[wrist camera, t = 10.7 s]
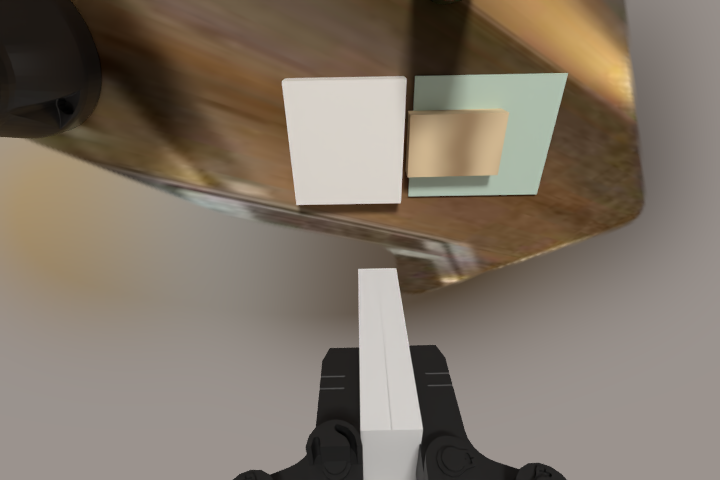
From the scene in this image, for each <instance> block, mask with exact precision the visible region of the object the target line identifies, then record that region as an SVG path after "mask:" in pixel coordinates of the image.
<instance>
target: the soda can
mask: <svg viewBox="0 0 720 480" xmlns="http://www.w3.org/2000/svg"><path fill="white" fill-rule="evenodd" d="M431 1H432V2H435V3H438V4H450V3H454V2H458V1H462V0H431Z"/></svg>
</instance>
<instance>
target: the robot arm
mask: <svg viewBox="0 0 720 480" xmlns="http://www.w3.org/2000/svg"><path fill="white" fill-rule="evenodd" d="M100 90H101V68H100V62H99V57H98V53H97V50H96V47H95V44H94V41H93V39H92V36H91V34H90V32H89V30H88V28H87V26H86V24H85V22H84V20H83V19H82V17H81V15H80V14H79V12H78V11H77V9H76V8H75V6H74V5H73V3H72V2H71V1H70V0H0V137H12V138H42V137H48V136H52V135H55V134H58V133H61V132H64V131H67V130H70V129H72V128H75V127H76V126H78V125H80V124H81V123H83V122H84V121H85V120H86V119H87V118H88V117H89V116H90V115H91V113H92V112H93V110H94V108H95V107H96V104H97V102H98V99H99V95H100ZM358 273H359V274H358V276H359V278H358V279H359V348H330V349H329V351H328V352H327V354H326V356H325V358H324V359H323V361H322V371H321V381H320V391H319V401H318V411H317V421H316V428H315V429H314V430H313V432H312V433H311V434H310V436H309V438H308V441H307V444H306V452H307V455H306V456H305V457H304V458H303V459H302V460H301V461H299V462H298V463H297V464H295V465H293V466H291V467H289V468H286V469H284V470H281V471H279V472H276V473H273V474H271V475H269V474H267V473H265V472H264V471H262V470H249V471H247V472H244V473H241V474H239V475H238V476H237V477H236V478H234V479H233V480H566V478H565V477H563V475H562V474H560V473H559V472H558V471H556V470H555V469H553V468H552V467H550V466H547V465H544V464H541V463H528V464H527V465H525V466H523V467H522V468H520V469H517V468H513V467H510V466H507V465H504V464H501V463H498V462H495V461H493V460H490V459H488V458H486V457H485V456H484V455H482V454H481V453H479V452H478V451H477V450H476V449H475V448H474V447H473V445H472V444H471V443H470V441H469V440H468V438H467V435H466V432H465V430H464V426H463V422H462V418H461V415H460V411H459V407H458V404H457V400H456V397H455V393H454V389H453V387H452V382H451V378H450V375H449V370H448V367H447V363H446V359H445V357H444V356H443V354H442V353H441V352H440V350H439V349H438V348H437V347H436V345H417V346H409V343H408V337H407V331H406V325H405V319H404V313H403V307H402V301H401V295H400V289H399V283H398V277H397V271H396V268H387V269H386V268H385V269H384V268H383V269H358Z"/></svg>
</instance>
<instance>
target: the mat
mask: <svg viewBox="0 0 720 480" xmlns="http://www.w3.org/2000/svg"><path fill="white" fill-rule="evenodd" d="M567 75H568V73H547V74H493V75H439V76H415V84H414V101H413V111H423V110H460V109H496V108H502V109H504V110H505V111H507V112H509V117H508V122H507V127H506V133H505V138H504V144H503V149H502V155H501V160H500V166H499V171H498V175H484V176H445V177H409V188H408V196H465V195H525V194H537V191H538V187H539V183H540V179H541V176H542V172H543V168H544V164H545V160H546V156H547V152H548V149H549V145H550V141H551V137H552V133H553V129H554V125H555V122H556V118H557V114H558V110H559V106H560V102H561V99H562V95H563V91H564V87H565V83H566V79H567Z"/></svg>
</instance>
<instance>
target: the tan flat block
mask: <svg viewBox="0 0 720 480" xmlns="http://www.w3.org/2000/svg"><path fill="white" fill-rule="evenodd" d="M508 117H509V112H507V111H505V110H504V109H502V108H496V109H460V110H423V111H408V121H407V145H406V168H405V171H406V174H407V177H445V176H484V175H498V171H499V166H500V160H501V155H502V149H503V144H504V138H505V133H506V127H507V122H508Z"/></svg>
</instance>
